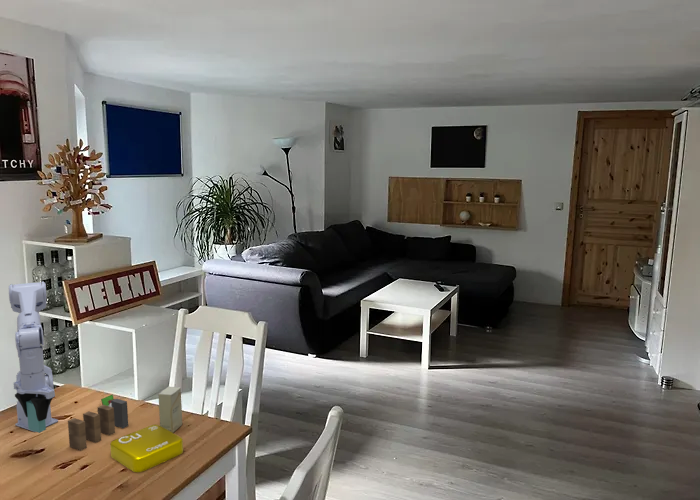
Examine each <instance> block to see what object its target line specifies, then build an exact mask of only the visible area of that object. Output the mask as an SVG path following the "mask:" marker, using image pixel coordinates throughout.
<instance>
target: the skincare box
mask: <svg viewBox="0 0 700 500" xmlns="http://www.w3.org/2000/svg"><path fill="white" fill-rule="evenodd" d="M157 395H158V412H159V413H158V414H159V426H161V427H163V428H165V429H167V430H169V431H170V432H172V433H174V432H176V430H178V429H180V427H182V425H183V412H182V411H183V409H182V408H183V406H182V388H181V387H179V386H178V387H177V386H170V385H169V386H167V387H165V388H164V389H162V390H161V391H160V392H159V393H158V394H157Z"/></svg>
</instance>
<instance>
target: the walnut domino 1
mask: <svg viewBox="0 0 700 500" xmlns="http://www.w3.org/2000/svg"><path fill="white" fill-rule="evenodd" d="M67 427H68V429H67V430H68V443H69V448H71V449H75V450H77V451H80V452H81V451H83V450H85V449H87V440H86V431H85V421H83V420H81V419H78V418H75V417H73V418H71V419H68V420H67Z"/></svg>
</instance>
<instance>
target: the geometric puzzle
mask: <svg viewBox="0 0 700 500" xmlns="http://www.w3.org/2000/svg"><path fill="white" fill-rule="evenodd" d="M114 399H115V398H114V395H113V393H112V394H110V395H108V396H106V397H103V398H100V402H101V405H106V406H109V407H112V406H111V401H112V400H114Z"/></svg>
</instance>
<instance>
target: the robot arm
mask: <svg viewBox="0 0 700 500" xmlns="http://www.w3.org/2000/svg"><path fill="white" fill-rule="evenodd" d="M46 286H47V285H46V281H45V282H44V281H37V282H26V283H16V284H13V283H11V284H10V285H8V299H9V304H10V308H11V310H12V312H15V313H18V315H17V317H16V326H17V328H16V331H15V333H14V334H15V335H14V336H15V337H14V339H15V348H16V350H17V357H18V363H19V371H18V372H17V374H16V376H15V378H16V380H15V381H14V382H13V390H16V393H15V394H14V397H15V398H16V399H17V402H16V414H17V422H16V423H15V424H14V425H15V426H17V427H18V428H22V429H26V430H29V431H31V432H34V433H35V431H32V430H30V429H29V428H28V416H27V405H26V402H27V401H30V400H31V402H32V403H33V405H34V407H35V410H36V416H37V419H38V421H42V420H44V419H45V424H46V428H47V427H49V426H51V425H53V424H56V423H57V422H59V419H57V418H53V417H52V412H51V411H52V409H51V402H52V401H53V399H54V397H56V393H55V389H54V378H53V377H54V376H53V370H52V368H51V367H49V366H47V365H45V363H44V362H45V361H44V351H43V350H44V349H43V348H44V346H45V345H44V344H45V340H44V330H43V327H42V322H41V321H42V319H41V315H40V313H41V311H42V310H44V309H46V308H47V307H46V306H47V300H48V299H47V298H48V297H47V287H46Z"/></svg>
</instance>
